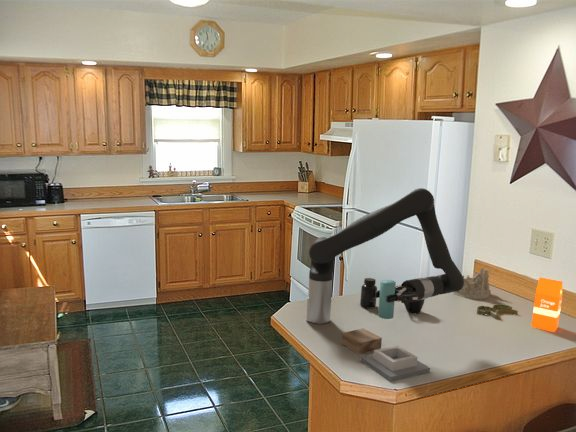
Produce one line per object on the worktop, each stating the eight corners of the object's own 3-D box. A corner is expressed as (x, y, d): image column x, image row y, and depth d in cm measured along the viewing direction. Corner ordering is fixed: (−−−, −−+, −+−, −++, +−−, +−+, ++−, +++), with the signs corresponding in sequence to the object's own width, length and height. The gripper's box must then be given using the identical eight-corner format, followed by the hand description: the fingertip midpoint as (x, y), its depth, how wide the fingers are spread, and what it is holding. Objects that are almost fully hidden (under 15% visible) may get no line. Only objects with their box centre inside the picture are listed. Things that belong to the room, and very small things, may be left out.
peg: (378, 318, 183) (380, 283, 181) (377, 313, 188) (380, 279, 186) (393, 319, 183) (396, 284, 181) (392, 314, 188) (395, 280, 186)
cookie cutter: (494, 321, 229) (494, 316, 229) (470, 312, 239) (471, 308, 239) (521, 314, 239) (521, 310, 238) (497, 306, 248) (498, 302, 248)
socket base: (390, 381, 171) (391, 367, 170) (360, 360, 185) (361, 348, 184) (429, 372, 179) (431, 359, 178) (398, 353, 193) (399, 340, 192)
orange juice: (535, 321, 230) (541, 275, 226) (558, 326, 225) (564, 279, 221) (531, 326, 223) (537, 279, 220) (554, 332, 218) (561, 283, 215)
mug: (394, 312, 233) (396, 290, 232) (411, 307, 241) (413, 286, 239) (410, 318, 227) (412, 296, 226) (427, 312, 235) (429, 291, 233)
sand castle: (495, 294, 265) (496, 263, 262) (480, 302, 253) (481, 271, 250) (464, 288, 275) (464, 259, 273) (449, 296, 263) (449, 265, 261)
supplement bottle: (375, 309, 236) (377, 282, 234) (359, 307, 237) (361, 280, 235) (376, 304, 243) (378, 278, 241) (360, 302, 244) (362, 276, 242)
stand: (359, 354, 190) (360, 343, 190) (341, 343, 199) (341, 333, 198) (381, 348, 196) (381, 337, 195) (362, 338, 204) (363, 328, 203)
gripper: (403, 273, 197) (367, 280, 188) (434, 284, 186) (397, 292, 176) (401, 294, 199) (366, 301, 189) (432, 305, 187) (395, 314, 178)
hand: (381, 296), depth 183 cm, fingers closed on peg, 5 cm apart
